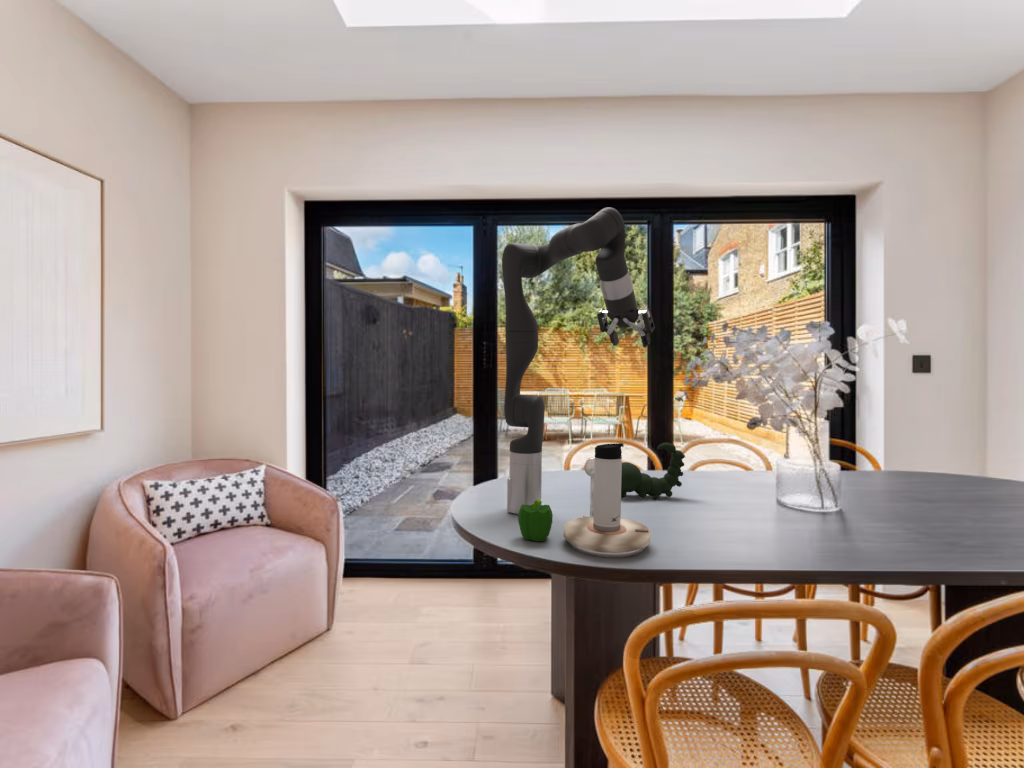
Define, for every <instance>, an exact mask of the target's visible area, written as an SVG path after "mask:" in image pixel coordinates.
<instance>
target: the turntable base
mask: <svg viewBox="0 0 1024 768" xmlns="http://www.w3.org/2000/svg"><path fill="white" fill-rule="evenodd" d="M569 544H570V546H571V547H572V548H573V549H574V550H575V549H576V550H575V551H577V552H579V553H582V554H585V555H589V556H593V557H599V558H608V559H609V558H611V559H613V558H616V559H617V558H618V559H619V558H627V557H632V556H636V555H638V554H641V553H642V552H643V551H644V548H642V549H639V550H634V551H627V552H605V551H596V550H591V549H586V548H582V547H579V546H576V545H574V544H572V543H570V542H569Z"/></svg>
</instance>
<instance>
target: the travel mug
mask: <svg viewBox="0 0 1024 768" xmlns="http://www.w3.org/2000/svg"><path fill="white" fill-rule="evenodd" d="M622 448H624V443H623V442H619V443H605V444H604V443H603V444H598V445H596V447H594V457H595V460H594V513H593V520H594V521H593V527H594V528H595V529H596V530H599V531H603V532H615V531H618V530H619V529H620V521H621V518H622V517H621V515H622V514H621V513H622V497H621V474H622V463H623V460H622V459H623V457H622V456H623V455H622V453H623V452H622Z"/></svg>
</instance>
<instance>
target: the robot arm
mask: <svg viewBox="0 0 1024 768" xmlns="http://www.w3.org/2000/svg"><path fill="white" fill-rule="evenodd" d="M625 225H626V224H625V221H624V219H623V217H622V215H621V213H620V211H618V210H617V209H616V208H614V207H608V206H607V207H604V208H602V209H600V210H599V211H598V212H596V213H595V214H594V215H593V216H591V217H590V218H588V219H587V220H586V221H584V222H583V223H581V222H580V223H579V222H578V223H575V224H572V225H570V226H567V227H565V228H563V229H561V230H559V231H558V232H556V233H555V234H554V235H552V237H551V239H550V240H549V243H547V244H541V245H535V244H530V243H520V242H519V243H518V242H510V243H507V244H506V246H505V247H504V248H503V251H502V256H501V270H502V280H503V282H502V283H503V289H504V290H503V291H504V303H505V305H504V306H505V308H504V309H505V330H504V333H505V357H506V358H505V363H506V364H505V367H506V369H505V370H506V371H505V387H504V388H505V390H504V400H503V401H504V403H503V404H504V405H503V406H504V407H503V413H504V415H503V416H504V419H505V423H506V424H507V425H508V426H509V427H515V428H527V432H526V434H524V436H521V437H519V438H515V439H513V440H511V441H510V443H509V468H508V469H509V471H508V472H509V473H508V474H509V477H508V478H507V480H506V481H507V488H506V489H507V492H506V493H507V495H506V496H507V497H506V501H507V502H506V511H507V513H512V514H514V515H518V513H519V510H520V508H521V505H531V504H534V502H535V500H536V499H539V500H541V501H542V482H543V481H542V476H543V475H542V472H543V471H542V470H543V467H542V466H543V465H542V463H543V442H544V427H545V425H544V423H545V413H546V410H545V402H544V399H543V397H542V396H540V395H535V394H521V385H522V380H523V377H524V375H525V373H526V371H527V369H528V368H529V367H530V364H531V363H532V361H533V360H534V358H535V356H536V354H537V352H538V349H539V325H538V324H539V323H538V322H537V319H536V317H535V315H534V313H533V311H532V309H531V308H530V306H529V304H528V302H527V300H526V297H525V294H524V290H523V279H525V278H526V279H534V278H537V277H539V276H540V275H542V274H543V273H545V272H546V271H548V270H549V269H551V268H552V267H554V266H555V265H557V264H559V263H560V262H562V261H564V260H567V259H569V258H571V257H574V256H578V255H580V254H582V253H589V252H595V251H598V252H597V253H598V254H597V255H596V257H595V260H594V261H595V266H596V270H597V274H598V275H597V276H598V277H599V284H600V285H599V286H600V290H601V294H602V298H603V301H604V305H605V308H601V309H599V311H598V312H597V314H596V316H597V321H598V326H599V330H600V332H601V333H606V334H608V336H609V341H610V343H611V344H612V346H616V347H617V346H618V344H620V343H619V342H620V340H619V335H618V332H617V330H616V327H618V328H632V329H633V330H634V331H635V332H637V333H638V334H639V335H640V339H641V343H642V347H643V348H647V347H648V346H649V344H651V337H650V335H651V334H652V333H653V332H654V330H655V328H656V325H655V323H654V319H653V316H652V312H651V309H650V308H645V310H639V309H638V306H637V298H636V294H635V291H634V285H633V282H632V278H631V275H630V272H629V269H628V264H627V260H626V257H625V251H626V250H625V249H626V227H625ZM608 318H609V320H611V323H610V325H609V322H608ZM540 505H542V503H541V504H540Z"/></svg>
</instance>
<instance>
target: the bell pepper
mask: <svg viewBox="0 0 1024 768" xmlns="http://www.w3.org/2000/svg"><path fill="white" fill-rule="evenodd" d="M542 502H543V501H542V499H541V500H539V499H536V500H535V502H534V504H531V505H521V508H520V510H519V513H518V514H517V516H518V519H517V520H518V521H517V522H518V525H519V529H520V534H521V536H522V537H523V539H524V540H528V541H529V540H531V541H533V542H544V541H546V540H547V539H548V537H549V535H550V532H551V530H552V525H553V516H554V515H553V511H552V509H551V506H550V505H549V504H544V505H542ZM540 504H541V505H540Z"/></svg>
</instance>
